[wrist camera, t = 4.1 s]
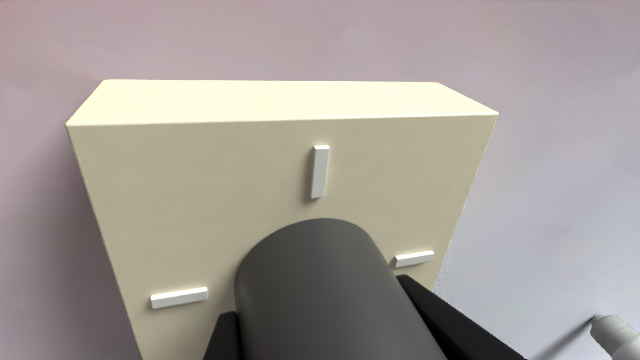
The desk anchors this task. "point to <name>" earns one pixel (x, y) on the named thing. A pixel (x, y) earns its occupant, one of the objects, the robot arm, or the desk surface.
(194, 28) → the desk surface
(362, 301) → the timer knob
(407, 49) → the desk surface
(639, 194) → the desk surface
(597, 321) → the lightbulb
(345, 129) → the panel
